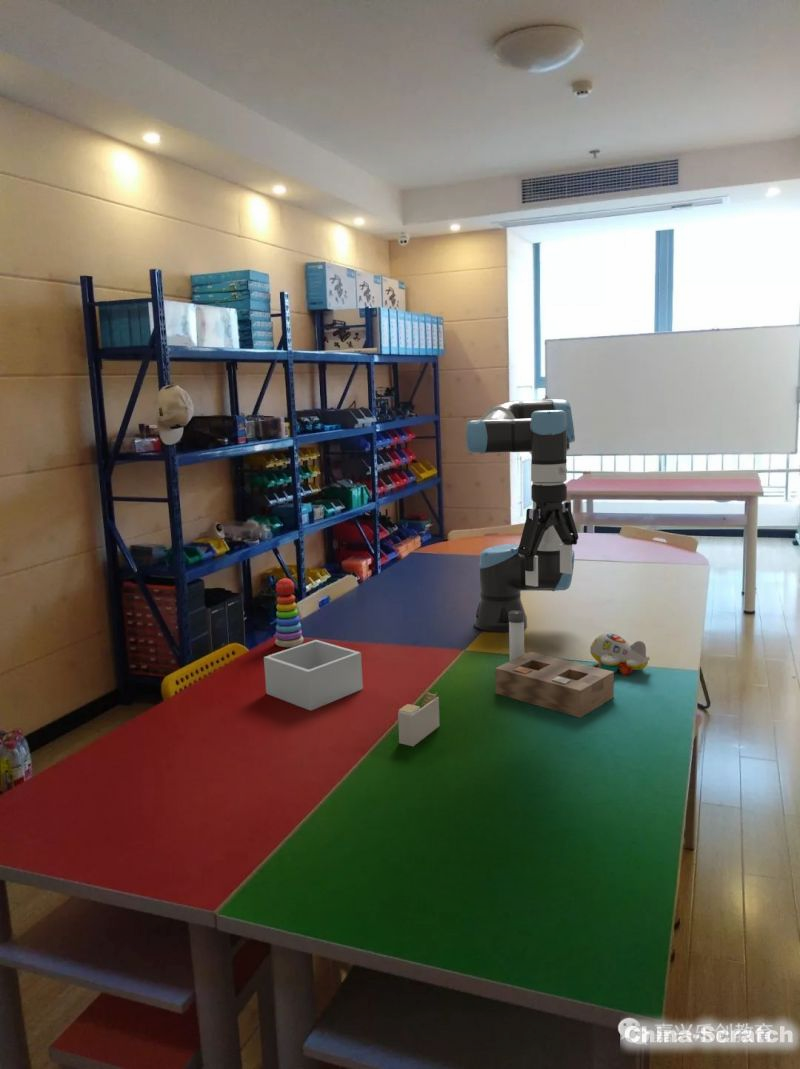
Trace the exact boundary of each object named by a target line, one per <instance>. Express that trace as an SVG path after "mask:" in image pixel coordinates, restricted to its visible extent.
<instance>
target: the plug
mask: <svg viewBox="0 0 800 1069" xmlns="http://www.w3.org/2000/svg"><path fill="white" fill-rule="evenodd" d="M508 634H509V636H508V637H509V638H508V640H509V641H508V642H509V643H508V644H509V661H512V660H514V659H516V658H518V657H520V656H522V655H525V628H524V612H523V611H510V612H509V632H508Z"/></svg>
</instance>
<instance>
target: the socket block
mask: <svg viewBox="0 0 800 1069" xmlns="http://www.w3.org/2000/svg"><path fill="white" fill-rule="evenodd" d="M494 677H495V678H494V680H495V681H494V682H495V685H494V686H495V694H497V695H501V696H504V697H507V698H511V699H514V700H518V701H522V702H524V703H527V704H531V705H536V706H539V707H542V708H546V709H548V710H552V711H555V712H559V713H563V714H566V715H569V716H573V717H576V718H580V719H581V718H582V717H584V716H586V715H588V714H589V713H591V712H593V711H595V710H596V709H597V708H599V707H601V706H602V705H604V704H605V703H607V702H609V701H610V700H612V699H613V698H614V696H615V694H614V693H615V691H614V688H615V681H614V680H615V672H613V671H609V670H605V669H600V668H598V667H596V666H591V665H587V664H583V663H579V662H575V661H569V660H566V659H562V658H558V657H553V656H550V655H546V654H541V653H536V652H533V651H529V652H527V653H524V655H522V656H520V657H518V658H516V659H514V660H512V661H510V660H509V661H507V662H504V663H503V664H501V665H499V666H497V667H494Z"/></svg>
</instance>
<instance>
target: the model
mask: <svg viewBox="0 0 800 1069" xmlns="http://www.w3.org/2000/svg"><path fill="white" fill-rule="evenodd" d="M437 695H438V692H436V693H434V694H433V693H430V692H429V690H428V691H427V692H426V695H425V696H424V699H423V701H422V704H421V706H419V705H415V704H410V703H407V704H405V705H404V706H402V707H401V708H399V709H398V713H397V716H398V717H397V718H398V719H397V721H398V722H397V723H398V741H399V742H398V744H402V745H404V746H409V747H415V746H416V745H417V744H418V743H420V742H421V741H422V740H424V739H425V738H426V737H427V736H429V735H430V734H431V733H433V732H434V731H435V730H437V729H438V728H439V727H440V699H439V698H440V697H439V696H437Z"/></svg>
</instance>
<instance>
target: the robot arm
mask: <svg viewBox="0 0 800 1069" xmlns="http://www.w3.org/2000/svg"><path fill="white" fill-rule="evenodd" d="M575 441H576V437H575V427H574V420H573V413H572V408H571V404H570V402H569V401H568V400H566V399H557V398H555V399H554V398H547V399H531V400H530V399H529V400H510V401H507V402H502V403H499V404H497V405H495V406H492V407H490V408H489V409H487V410H486V411H485V412H484V413H483V414H482V416H481V418H480V419H477V420H476V419H475V420H470V421H468V422H467V423H466V427H465V443H466V444H465V445H466V450H467V452H468V453H471V454H481V455H482V454H494V453H495V454H497V453H498V454H499V453H500V454H501V453H529V454H530V456H531V457H530V458H531V460H530V461H531V462H530V463H531V464H530V481H531V482H532V485H531V486H530V490H531V491H530V492H531V494H530V498H531V501H532V508H527V509H526V513H525V516H526V517H525V522H524V526H523V530H522V533H521V538H520V542H519V544H515V543H514V544H512V543H507V544H506V543H505V544H500V545H494V546H491V547H488V548H485V549H483V550H482V551H481V553H480V555H479V566H478V568H479V587H480V588H479V595H480V597H479V598H480V600H479V602H478V603H479V604H478V606H477V610H476V613H475V616H474V626H475V627H476V628H478V629H479V630H482V631H485V632H491V633H509V612H510V611H523V612H524V629H525V628H527V625H528V617H527V614H526V612H525V607H524V605H523V603H522V599H521V598H522V597H521V593H522V591H523V592H525V591H526V592H527V591H530V592H531V591H534V592H536V591H537V592H538V591H542V592H544V591H545V592H546V591H547V592H556V591H559V592H560V591H567V590H568V589H569V588H570V587H571V584H572V580H573V574H574V566H575V565H574V564H575V551H574V549H573V546H575V545H577V544H578V540H579V533H578V531H577V528H576V523H575V520H574V515H573V513H572V507H571V506H572V505H571V502H570V501H566V500H568V495H567V494H568V491H567V490H568V488H567V487H568V485H567V484H566V483H565V482H566V481H567V480H568V479H567V478H568V477H567V472H568V469H567V462H568V460H567V453H568V451H569V450H570V443H571V444H572V443H574V442H575Z"/></svg>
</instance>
